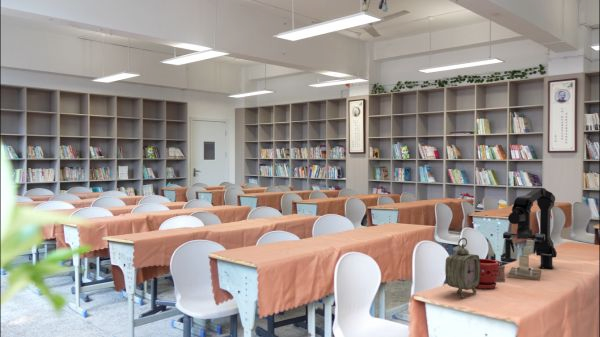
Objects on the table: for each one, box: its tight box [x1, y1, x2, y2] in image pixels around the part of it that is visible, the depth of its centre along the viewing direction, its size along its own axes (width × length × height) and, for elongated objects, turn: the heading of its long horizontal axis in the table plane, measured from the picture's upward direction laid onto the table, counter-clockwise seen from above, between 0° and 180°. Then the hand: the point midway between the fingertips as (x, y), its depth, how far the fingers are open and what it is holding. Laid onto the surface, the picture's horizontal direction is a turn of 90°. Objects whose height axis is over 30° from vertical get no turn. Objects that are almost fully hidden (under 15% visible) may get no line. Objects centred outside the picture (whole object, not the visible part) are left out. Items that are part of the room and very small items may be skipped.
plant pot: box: [475, 258, 500, 289], centre depth 226 cm, size 13×13×12 cm
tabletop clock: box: [444, 237, 481, 299], centre depth 213 cm, size 14×9×25 cm, turn 131°
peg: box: [518, 254, 530, 271], centre depth 243 cm, size 4×4×9 cm
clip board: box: [507, 266, 542, 282], centre depth 246 cm, size 20×14×4 cm
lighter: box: [488, 259, 506, 283], centre depth 234 cm, size 8×3×10 cm, turn 84°
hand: (523, 253), depth 243 cm, fingers open, 9 cm apart
